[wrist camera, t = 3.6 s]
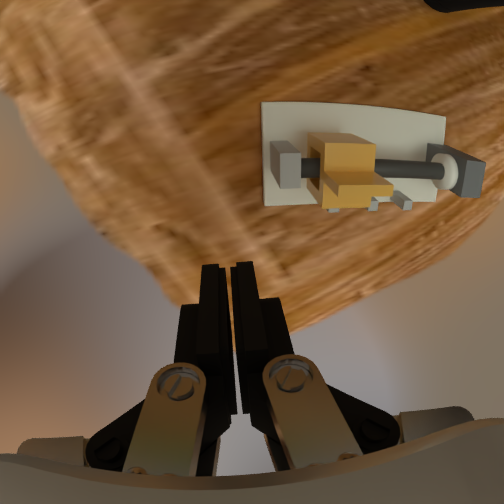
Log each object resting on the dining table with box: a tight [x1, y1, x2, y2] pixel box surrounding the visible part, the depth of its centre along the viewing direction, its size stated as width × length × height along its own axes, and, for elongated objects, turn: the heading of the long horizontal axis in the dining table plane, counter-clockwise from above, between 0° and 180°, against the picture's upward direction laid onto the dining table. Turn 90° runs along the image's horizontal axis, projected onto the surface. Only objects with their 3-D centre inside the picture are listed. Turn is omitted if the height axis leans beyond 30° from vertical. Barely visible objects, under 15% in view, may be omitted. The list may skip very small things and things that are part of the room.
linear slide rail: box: [261, 102, 486, 212], centre depth 26 cm, size 20×10×8 cm, turn 92°
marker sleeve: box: [306, 132, 394, 209], centre depth 22 cm, size 4×5×8 cm
